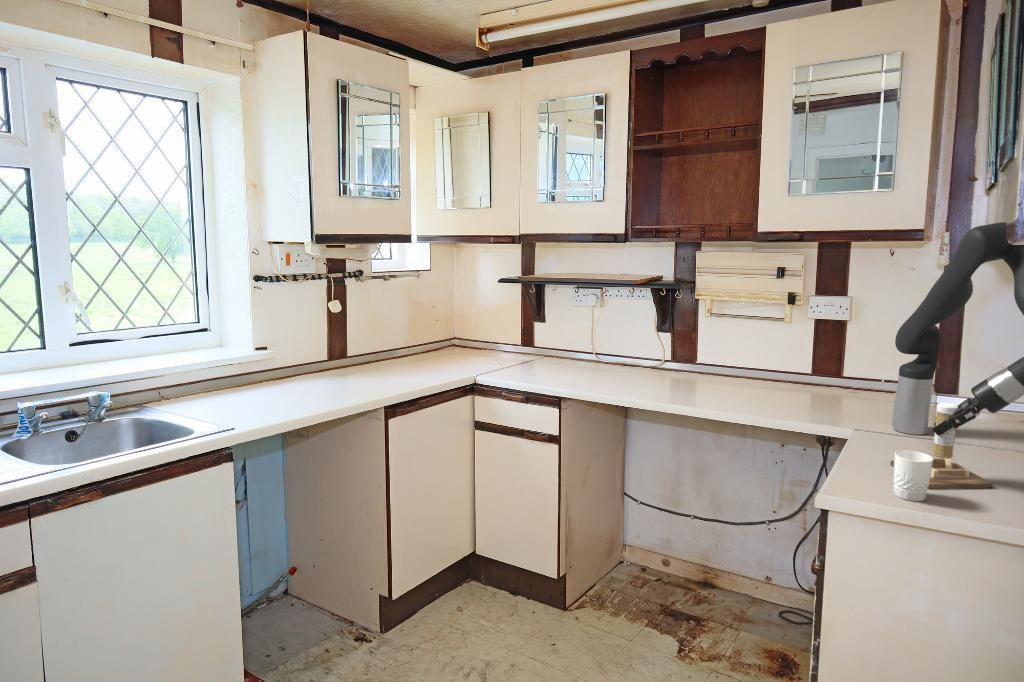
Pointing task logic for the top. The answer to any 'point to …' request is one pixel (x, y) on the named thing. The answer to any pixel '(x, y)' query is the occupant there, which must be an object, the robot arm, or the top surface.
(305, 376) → the top surface
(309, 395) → the top surface
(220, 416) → the top surface
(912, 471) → the white cup
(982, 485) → the holder board
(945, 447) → the sprinkles bottle
